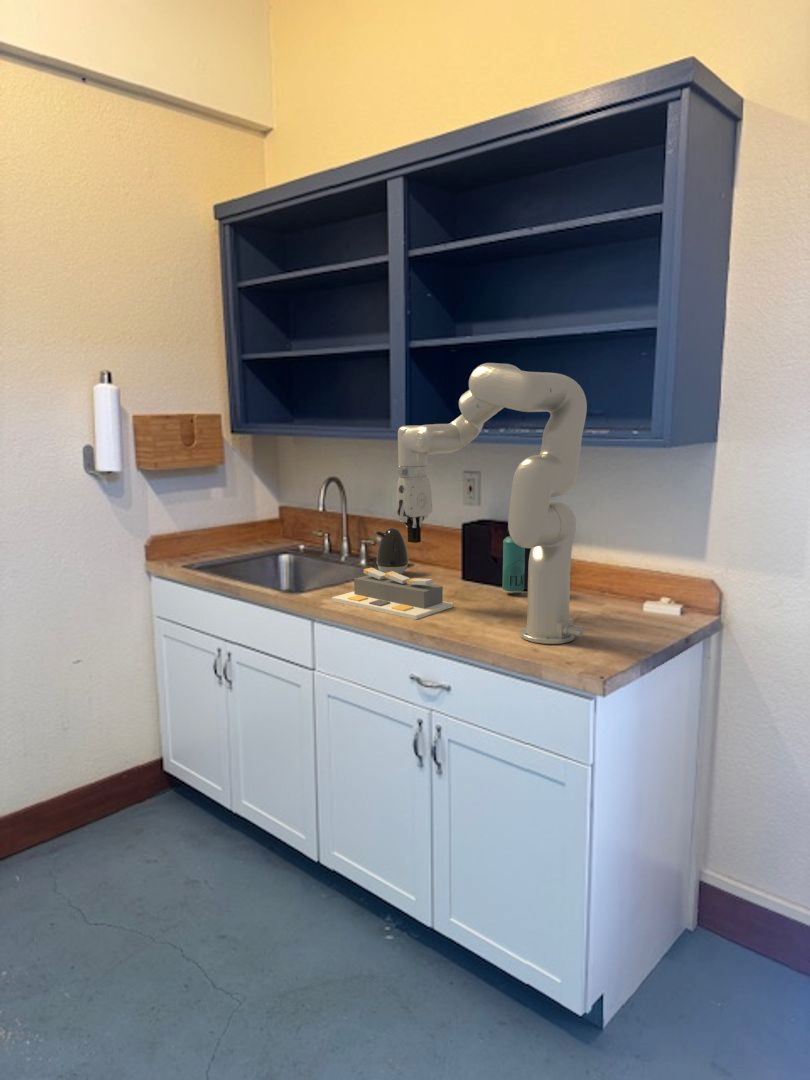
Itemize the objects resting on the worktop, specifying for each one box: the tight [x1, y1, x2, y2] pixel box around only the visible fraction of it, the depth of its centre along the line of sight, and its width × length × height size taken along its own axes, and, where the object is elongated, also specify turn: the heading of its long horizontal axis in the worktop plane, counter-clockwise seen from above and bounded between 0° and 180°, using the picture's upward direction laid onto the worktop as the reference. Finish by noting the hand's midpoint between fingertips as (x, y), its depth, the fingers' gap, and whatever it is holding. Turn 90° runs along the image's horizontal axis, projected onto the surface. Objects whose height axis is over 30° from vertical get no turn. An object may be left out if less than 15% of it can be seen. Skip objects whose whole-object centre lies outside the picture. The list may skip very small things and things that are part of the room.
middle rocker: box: [385, 571, 411, 584], centre depth 207 cm, size 6×3×1 cm, turn 50°
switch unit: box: [331, 574, 454, 620], centre depth 206 cm, size 30×16×6 cm, turn 50°
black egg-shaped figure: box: [375, 527, 409, 575], centre depth 241 cm, size 10×10×15 cm
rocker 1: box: [362, 567, 386, 580], centre depth 212 cm, size 6×3×1 cm, turn 50°
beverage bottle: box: [501, 526, 527, 593], centre depth 215 cm, size 6×7×20 cm
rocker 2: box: [407, 577, 434, 585], centre depth 202 cm, size 6×3×1 cm, turn 50°
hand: (414, 541), depth 201 cm, fingers closed
